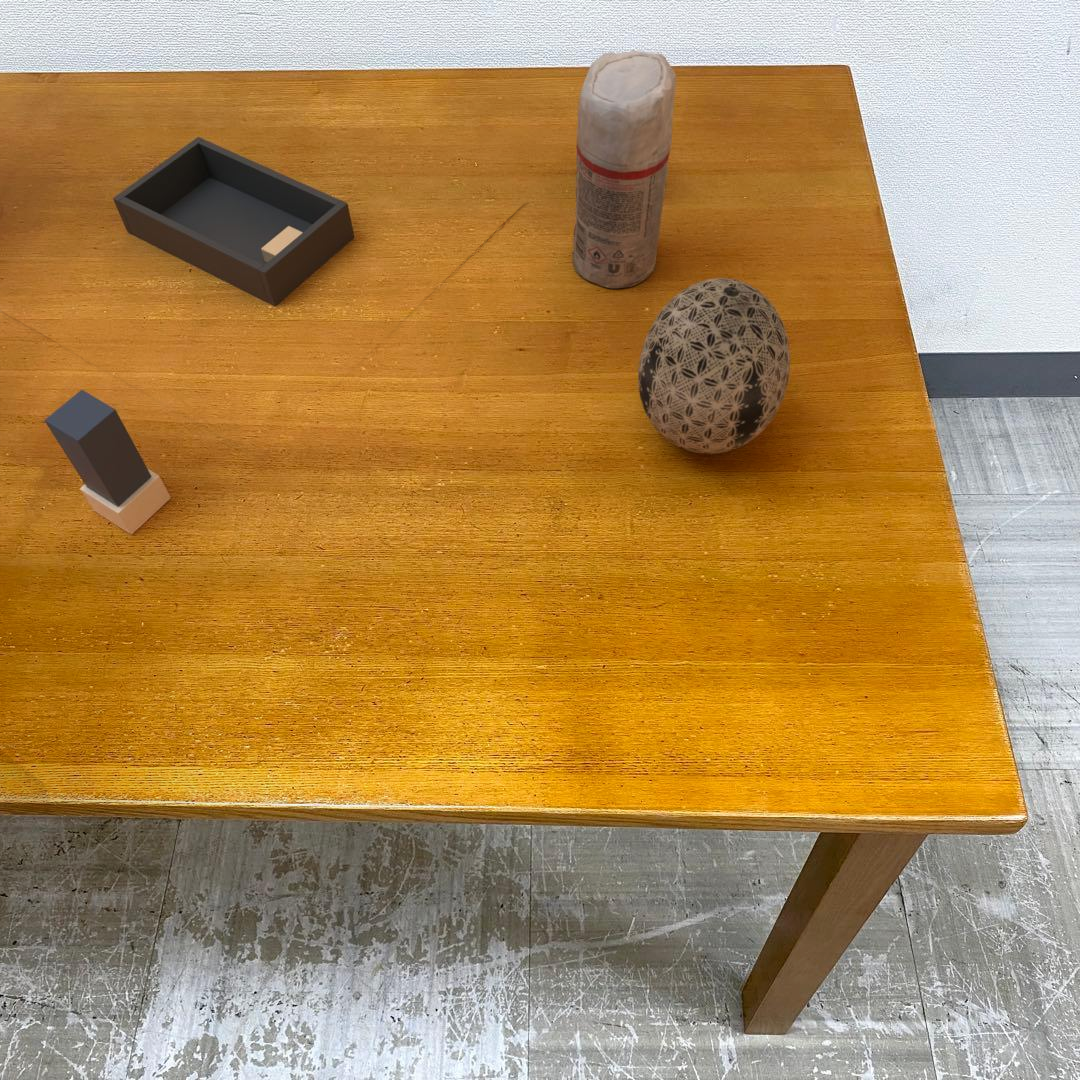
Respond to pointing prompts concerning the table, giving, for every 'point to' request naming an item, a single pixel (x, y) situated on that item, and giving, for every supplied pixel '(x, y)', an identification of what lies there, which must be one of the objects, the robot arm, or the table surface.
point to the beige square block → (279, 242)
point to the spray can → (622, 166)
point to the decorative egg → (714, 366)
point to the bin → (235, 219)
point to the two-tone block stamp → (107, 462)
